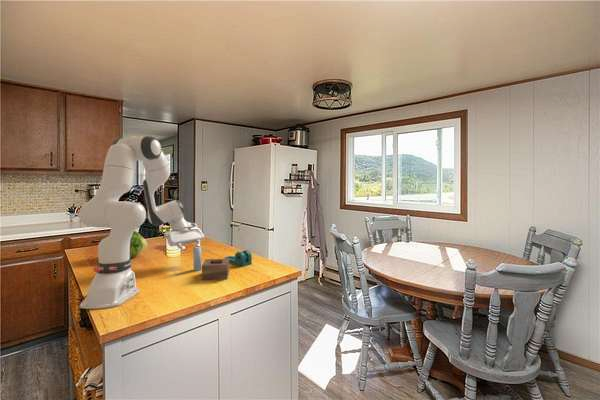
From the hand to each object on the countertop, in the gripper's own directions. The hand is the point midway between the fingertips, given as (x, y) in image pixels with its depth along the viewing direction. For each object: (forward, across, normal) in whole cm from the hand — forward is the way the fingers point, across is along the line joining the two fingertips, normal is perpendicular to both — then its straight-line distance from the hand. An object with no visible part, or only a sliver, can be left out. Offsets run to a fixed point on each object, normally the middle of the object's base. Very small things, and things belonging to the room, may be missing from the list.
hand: (191, 248), depth 161 cm
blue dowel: (+11, 0, +4) cm, 12 cm away
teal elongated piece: (+15, +22, 0) cm, 27 cm away
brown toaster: (+22, 0, -7) cm, 23 cm away
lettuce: (-27, -12, +43) cm, 52 cm away
